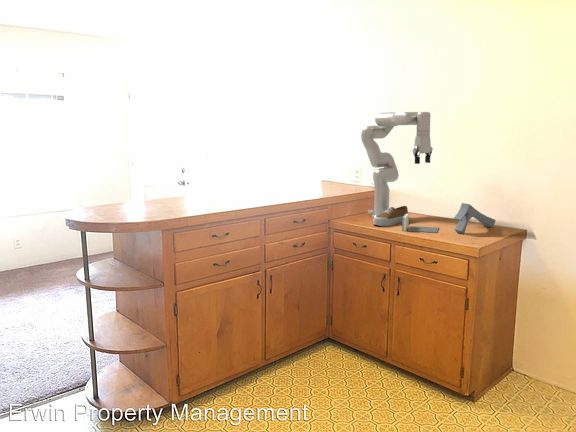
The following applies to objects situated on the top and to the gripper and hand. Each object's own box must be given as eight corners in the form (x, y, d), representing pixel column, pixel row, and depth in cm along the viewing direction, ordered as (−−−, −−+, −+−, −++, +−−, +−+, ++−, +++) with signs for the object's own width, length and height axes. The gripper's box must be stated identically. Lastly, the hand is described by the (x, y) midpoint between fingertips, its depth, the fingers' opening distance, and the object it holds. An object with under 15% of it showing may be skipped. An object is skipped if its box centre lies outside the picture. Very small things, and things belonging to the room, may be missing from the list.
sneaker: (368, 225, 295) (368, 209, 293) (399, 219, 313) (399, 203, 311) (380, 227, 287) (381, 211, 286) (412, 221, 305) (412, 205, 303)
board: (402, 231, 277) (402, 217, 276) (405, 227, 288) (405, 213, 287) (405, 231, 277) (405, 217, 275) (408, 227, 288) (408, 213, 286)
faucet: (477, 244, 285) (448, 228, 267) (486, 217, 286) (458, 200, 269) (487, 246, 280) (458, 230, 262) (496, 219, 281) (467, 201, 264)
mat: (407, 231, 277) (407, 230, 277) (410, 226, 289) (410, 225, 289) (437, 232, 271) (437, 232, 271) (438, 228, 283) (438, 227, 283)
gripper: (427, 133, 292) (426, 162, 295) (408, 134, 282) (407, 163, 285) (437, 133, 286) (436, 162, 289) (419, 134, 276) (418, 164, 279)
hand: (422, 163), depth 287 cm, fingers open, 9 cm apart
